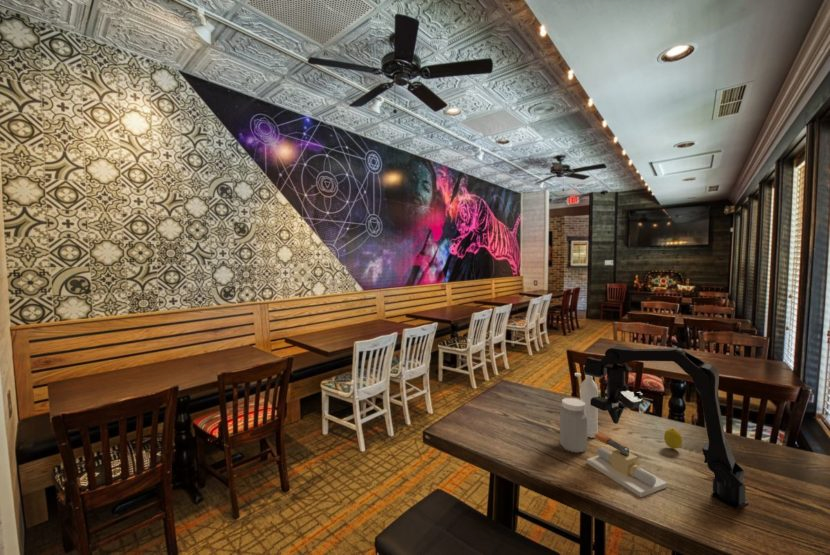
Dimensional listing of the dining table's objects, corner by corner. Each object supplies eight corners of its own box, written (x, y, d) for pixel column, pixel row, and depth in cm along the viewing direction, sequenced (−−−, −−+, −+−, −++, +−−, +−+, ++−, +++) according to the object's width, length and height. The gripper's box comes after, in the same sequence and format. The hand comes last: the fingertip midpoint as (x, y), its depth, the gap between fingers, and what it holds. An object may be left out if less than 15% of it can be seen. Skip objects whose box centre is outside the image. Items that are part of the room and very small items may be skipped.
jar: (555, 447, 137) (555, 402, 136) (565, 438, 144) (565, 394, 143) (582, 457, 130) (582, 409, 129) (591, 446, 137) (591, 401, 136)
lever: (631, 454, 118) (631, 448, 118) (625, 456, 117) (625, 450, 117) (600, 437, 129) (600, 432, 129) (594, 439, 128) (594, 433, 128)
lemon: (685, 453, 131) (685, 432, 130) (668, 452, 132) (668, 431, 131) (677, 445, 136) (677, 425, 136) (661, 444, 137) (661, 424, 137)
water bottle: (598, 432, 148) (598, 373, 147) (597, 439, 142) (597, 378, 141) (575, 428, 152) (575, 371, 151) (573, 434, 146) (573, 375, 145)
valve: (666, 487, 112) (667, 465, 111) (640, 497, 107) (640, 474, 107) (611, 455, 130) (611, 437, 130) (586, 462, 126) (586, 443, 126)
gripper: (616, 392, 117) (616, 438, 118) (655, 384, 123) (655, 428, 124) (589, 382, 127) (589, 424, 128) (626, 375, 134) (626, 415, 135)
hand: (615, 423), depth 128 cm, fingers closed
